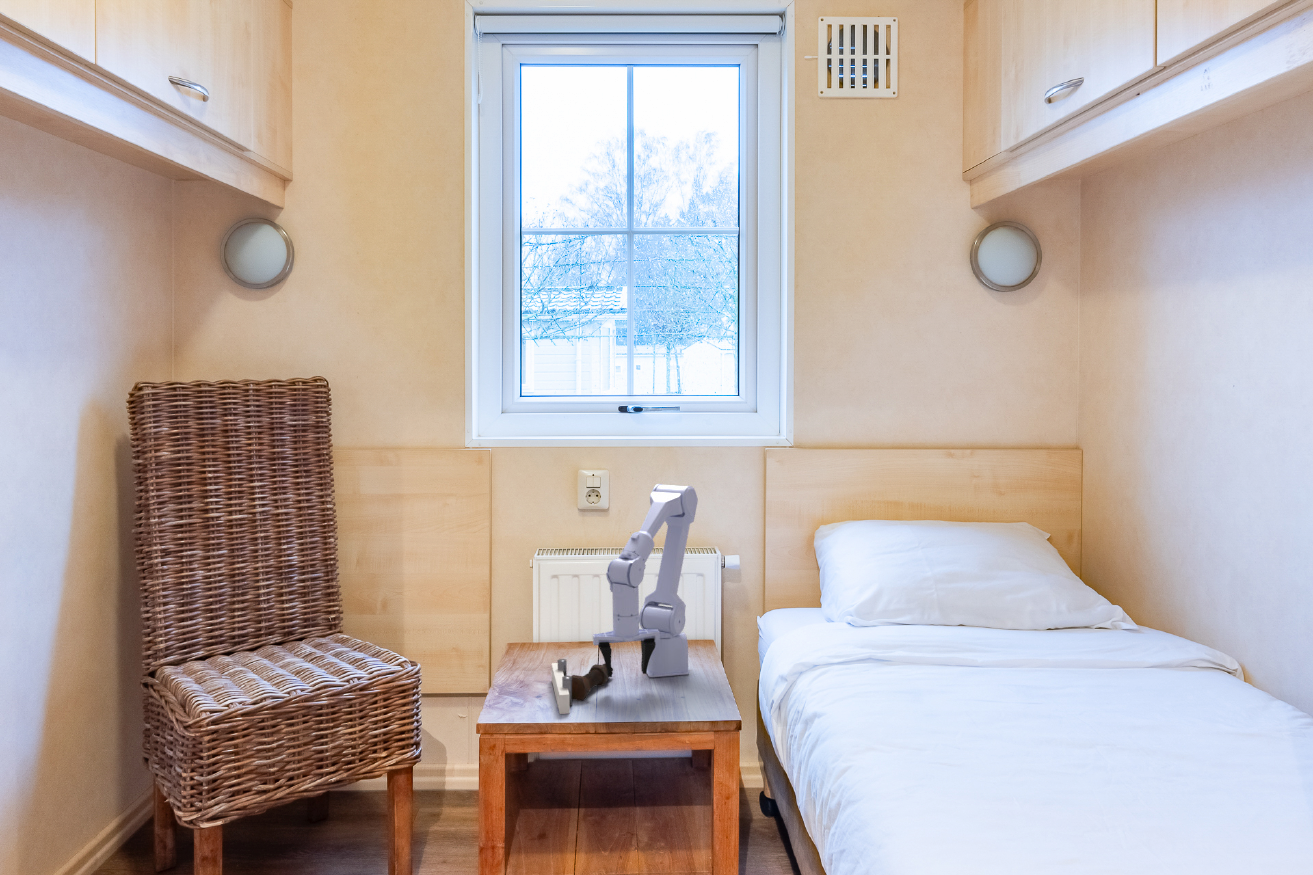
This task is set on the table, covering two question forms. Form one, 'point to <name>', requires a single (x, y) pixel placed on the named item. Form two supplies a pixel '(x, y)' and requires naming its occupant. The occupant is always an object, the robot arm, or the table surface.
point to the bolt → (588, 681)
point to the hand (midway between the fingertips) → (626, 673)
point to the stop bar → (562, 686)
